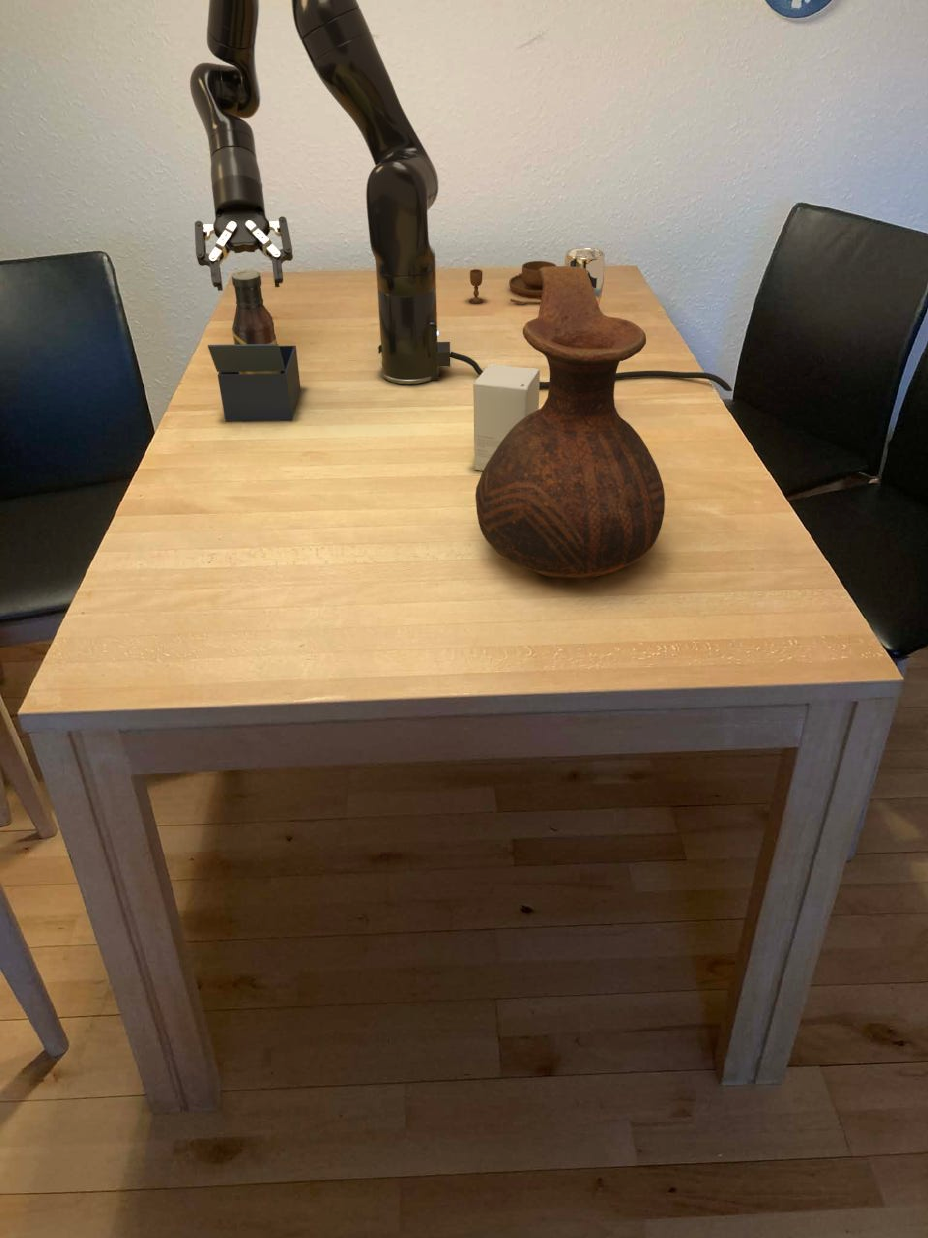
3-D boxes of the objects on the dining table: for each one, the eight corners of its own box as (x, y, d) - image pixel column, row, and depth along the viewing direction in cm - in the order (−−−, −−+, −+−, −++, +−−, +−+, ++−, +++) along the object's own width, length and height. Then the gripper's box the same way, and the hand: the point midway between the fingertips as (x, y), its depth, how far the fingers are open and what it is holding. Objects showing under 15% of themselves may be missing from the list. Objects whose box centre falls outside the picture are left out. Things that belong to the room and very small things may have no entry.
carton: (300, 389, 150) (295, 345, 146) (291, 420, 141) (286, 374, 137) (238, 390, 150) (231, 346, 146) (225, 421, 141) (217, 375, 136)
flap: (278, 343, 131) (278, 345, 131) (285, 369, 136) (285, 371, 136) (207, 344, 131) (207, 346, 131) (217, 370, 136) (217, 372, 136)
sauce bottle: (245, 395, 148) (226, 266, 136) (285, 393, 148) (269, 265, 136) (241, 412, 142) (220, 280, 131) (282, 411, 143) (265, 278, 131)
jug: (687, 535, 114) (727, 286, 96) (611, 626, 99) (641, 352, 81) (531, 489, 123) (541, 255, 105) (441, 566, 109) (434, 309, 91)
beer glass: (597, 347, 164) (604, 259, 155) (557, 344, 165) (562, 257, 156) (600, 333, 170) (607, 248, 161) (562, 331, 171) (567, 246, 162)
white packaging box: (538, 454, 131) (542, 368, 124) (524, 478, 126) (527, 389, 118) (488, 447, 133) (489, 361, 126) (472, 470, 128) (471, 382, 120)
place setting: (571, 304, 183) (572, 273, 179) (468, 304, 183) (468, 274, 179) (564, 277, 197) (566, 248, 193) (469, 277, 197) (469, 248, 193)
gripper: (185, 174, 138) (196, 276, 136) (282, 170, 141) (295, 270, 139) (193, 204, 146) (204, 301, 144) (285, 199, 148) (297, 295, 146)
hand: (248, 286), depth 141 cm, fingers open, 8 cm apart
